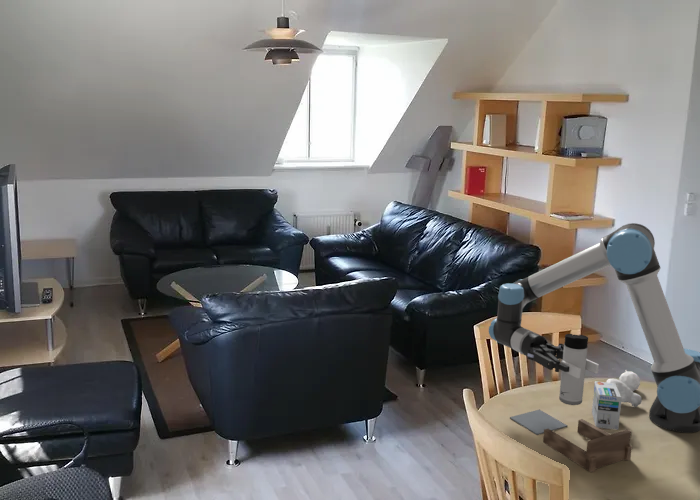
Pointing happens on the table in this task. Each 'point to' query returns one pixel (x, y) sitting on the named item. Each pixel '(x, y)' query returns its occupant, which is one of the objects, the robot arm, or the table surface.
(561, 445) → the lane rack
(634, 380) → the ornament
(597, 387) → the light bulb box
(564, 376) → the travel mug
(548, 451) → the table surface
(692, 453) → the table surface
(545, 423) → the grey mat
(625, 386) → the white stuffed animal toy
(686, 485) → the table surface
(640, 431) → the table surface
